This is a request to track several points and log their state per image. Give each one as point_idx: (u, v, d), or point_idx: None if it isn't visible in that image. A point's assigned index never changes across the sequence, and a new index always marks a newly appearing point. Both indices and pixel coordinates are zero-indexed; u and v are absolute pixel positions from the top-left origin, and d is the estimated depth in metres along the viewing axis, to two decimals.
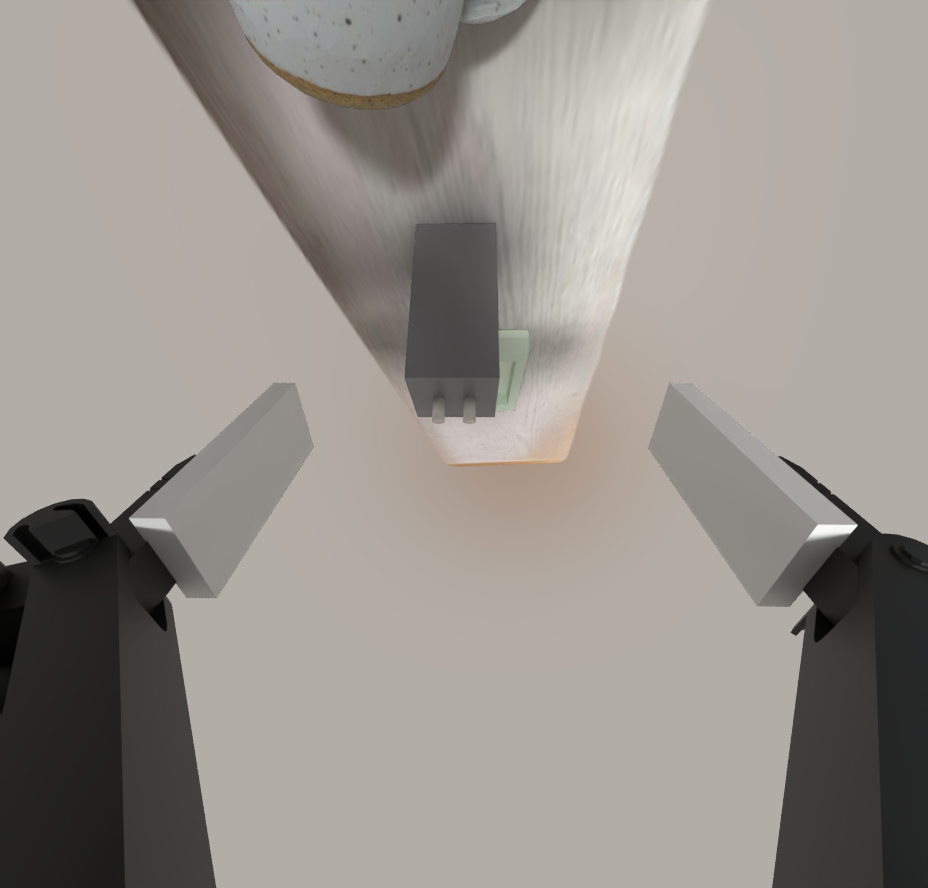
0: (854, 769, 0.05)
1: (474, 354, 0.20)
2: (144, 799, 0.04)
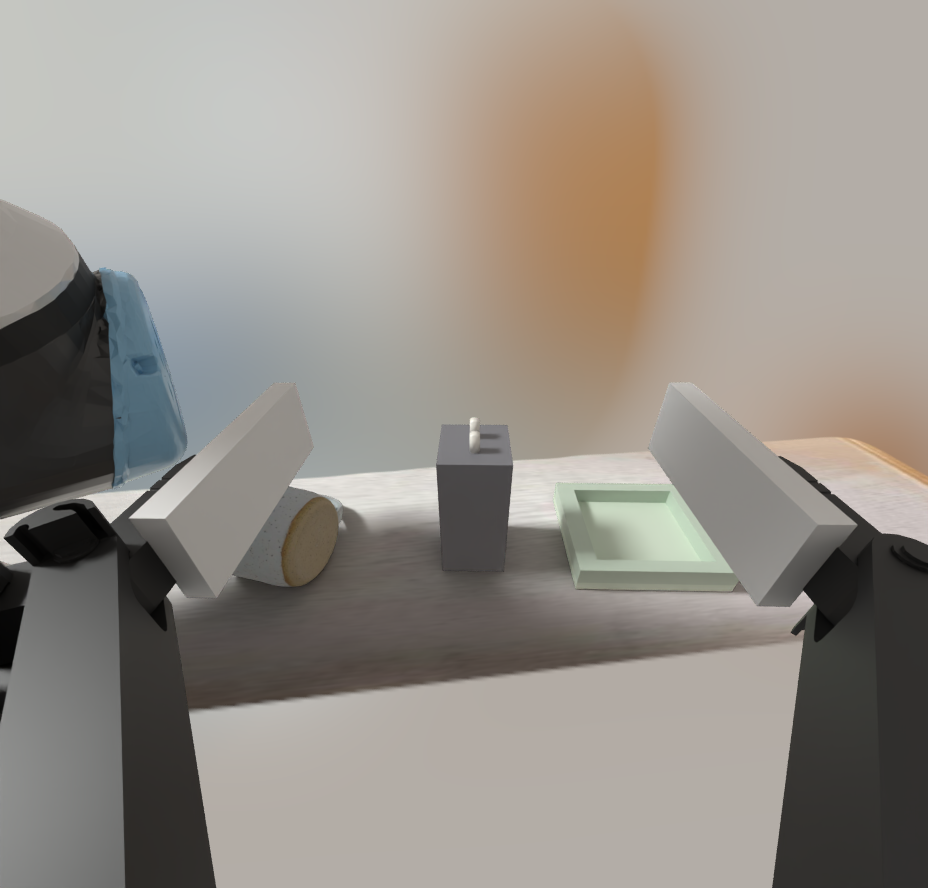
0: (853, 768, 0.05)
1: None
2: (144, 799, 0.04)
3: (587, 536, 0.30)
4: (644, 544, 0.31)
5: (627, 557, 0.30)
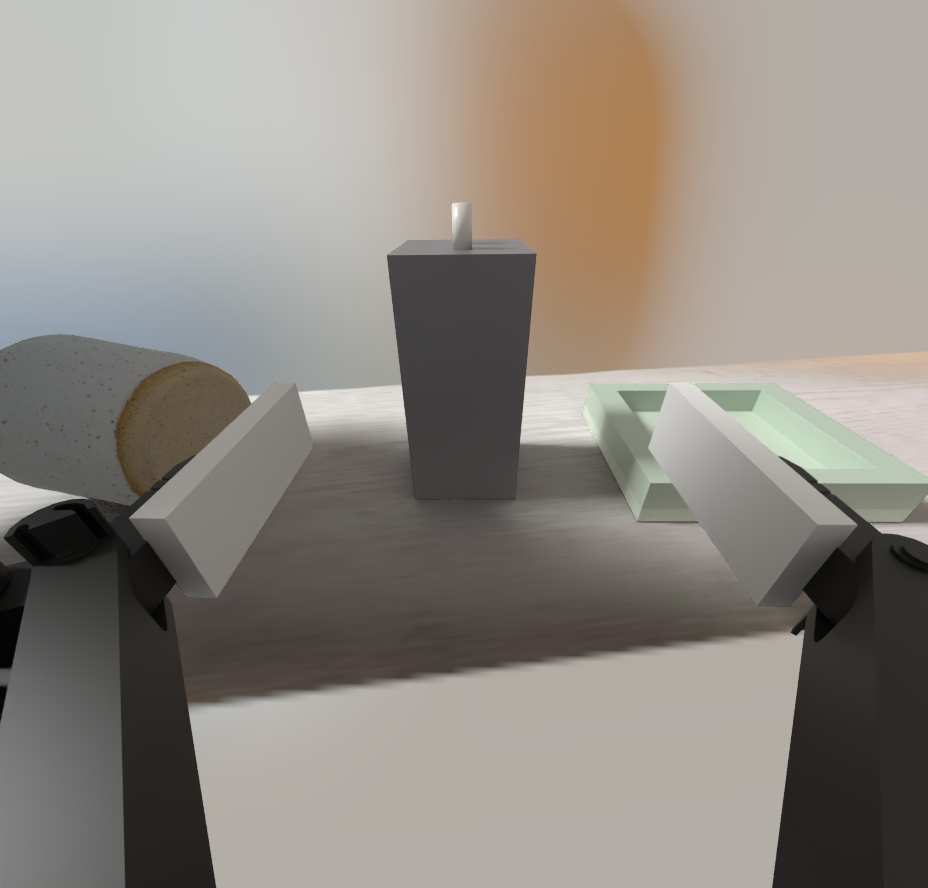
0: (853, 769, 0.05)
1: None
2: (145, 798, 0.04)
3: (650, 440, 0.18)
4: None
5: None
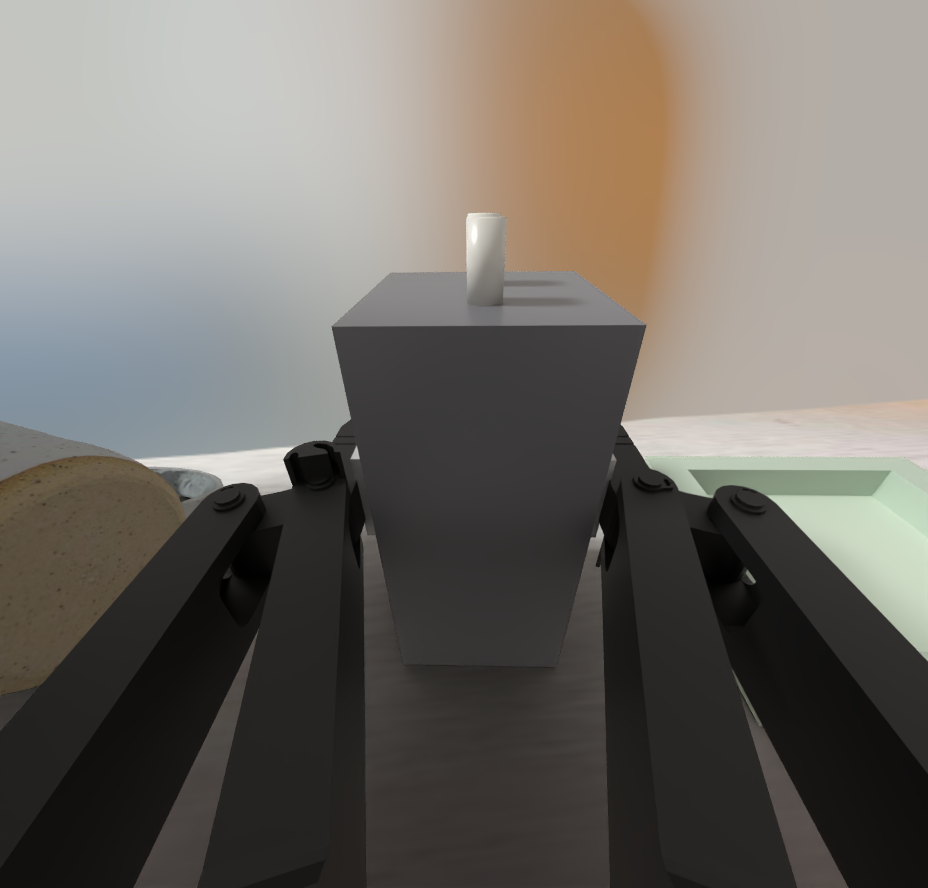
0: (632, 681, 0.05)
1: None
2: (343, 722, 0.05)
3: None
4: (888, 592, 0.13)
5: None
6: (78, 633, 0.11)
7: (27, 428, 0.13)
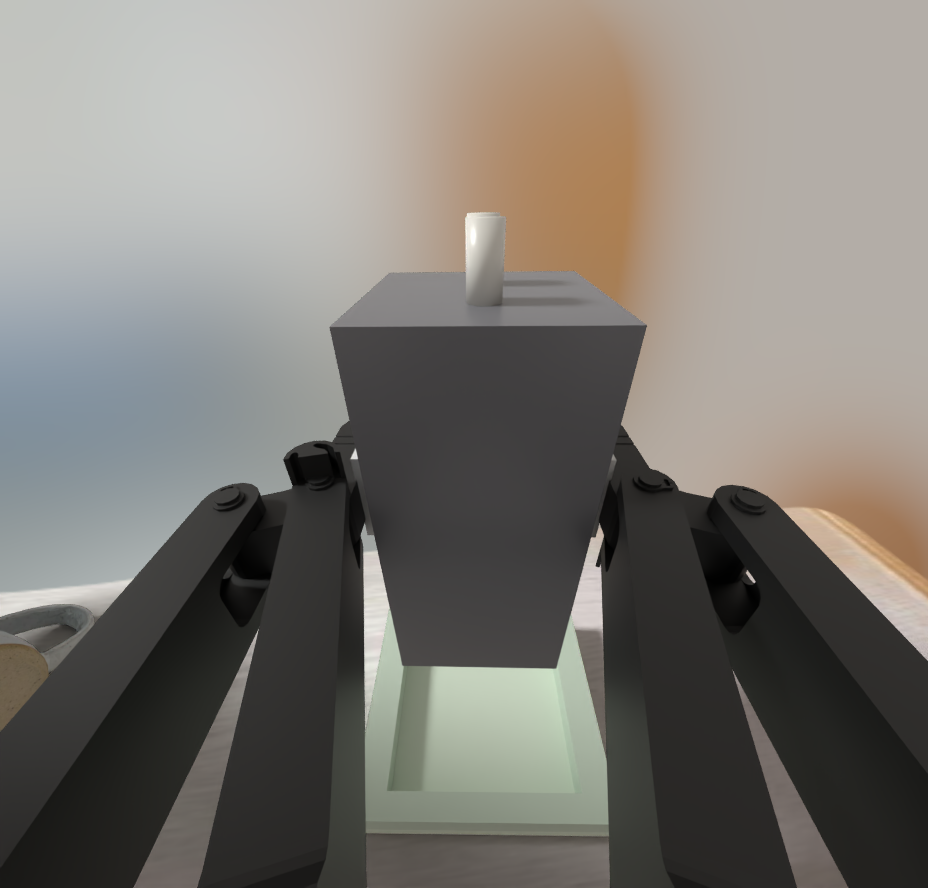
0: (632, 681, 0.05)
1: None
2: (343, 722, 0.05)
3: (391, 730, 0.19)
4: (491, 730, 0.20)
5: (456, 762, 0.19)
6: None
7: None
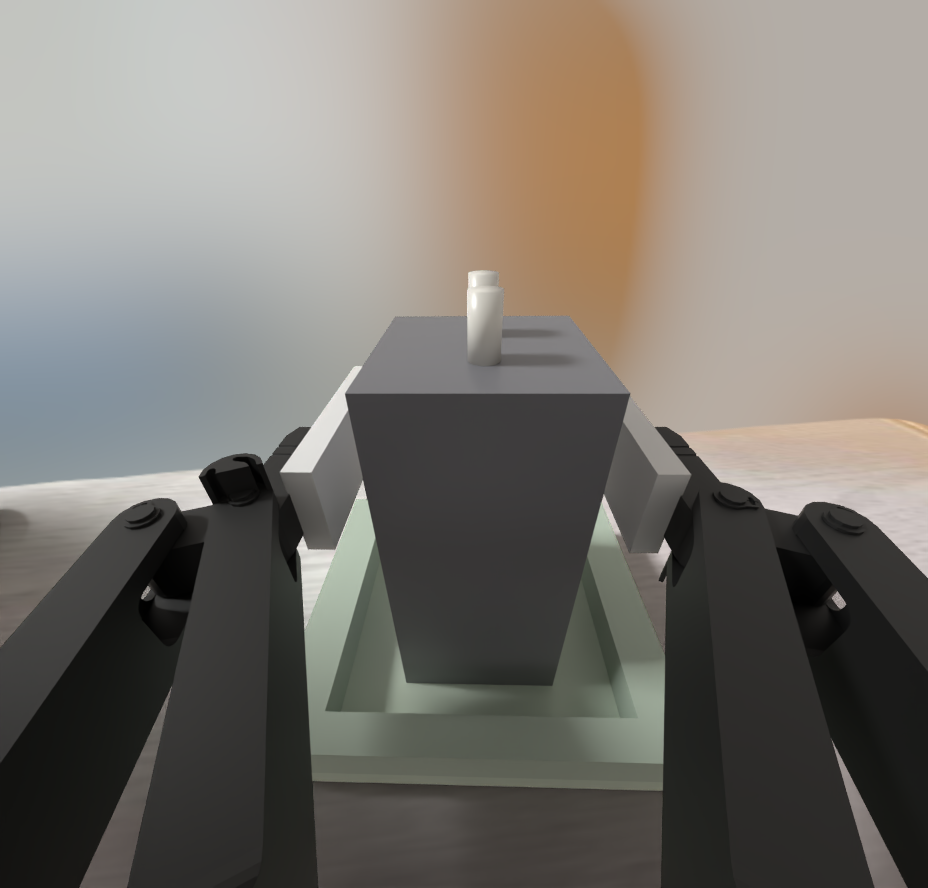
0: (702, 699, 0.05)
1: None
2: (278, 737, 0.05)
3: (343, 633, 0.13)
4: None
5: None
6: None
7: None
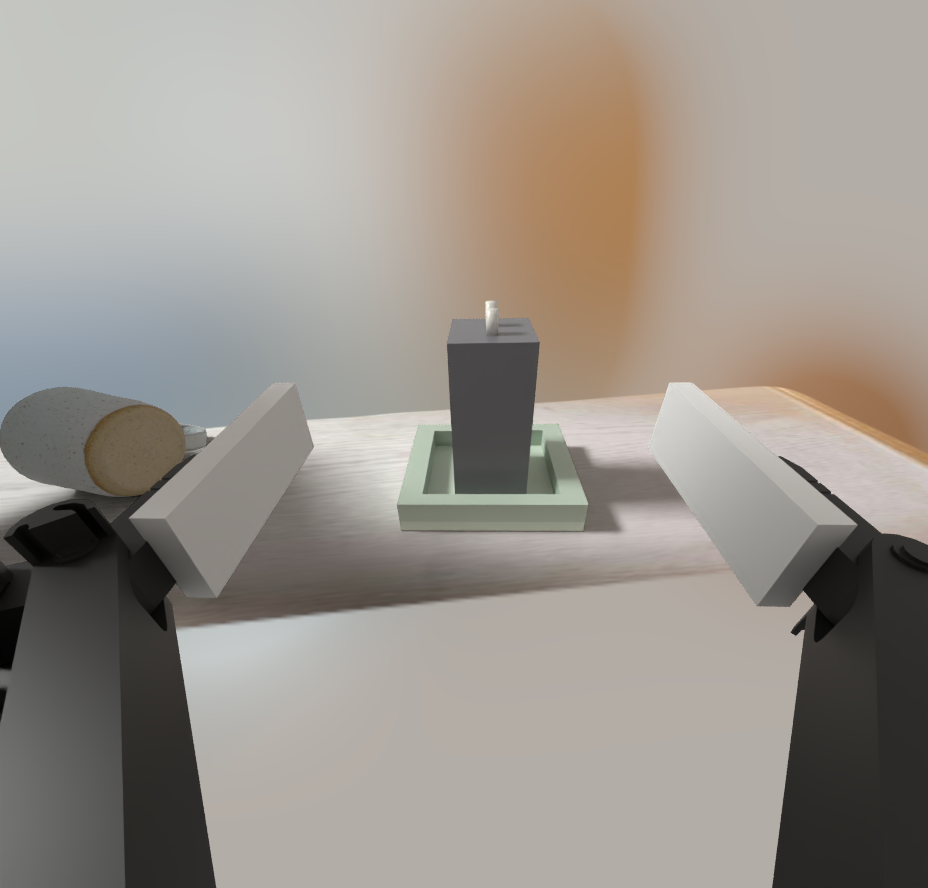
0: (853, 767, 0.05)
1: None
2: (144, 799, 0.04)
3: (424, 472, 0.26)
4: None
5: None
6: (140, 477, 0.27)
7: None
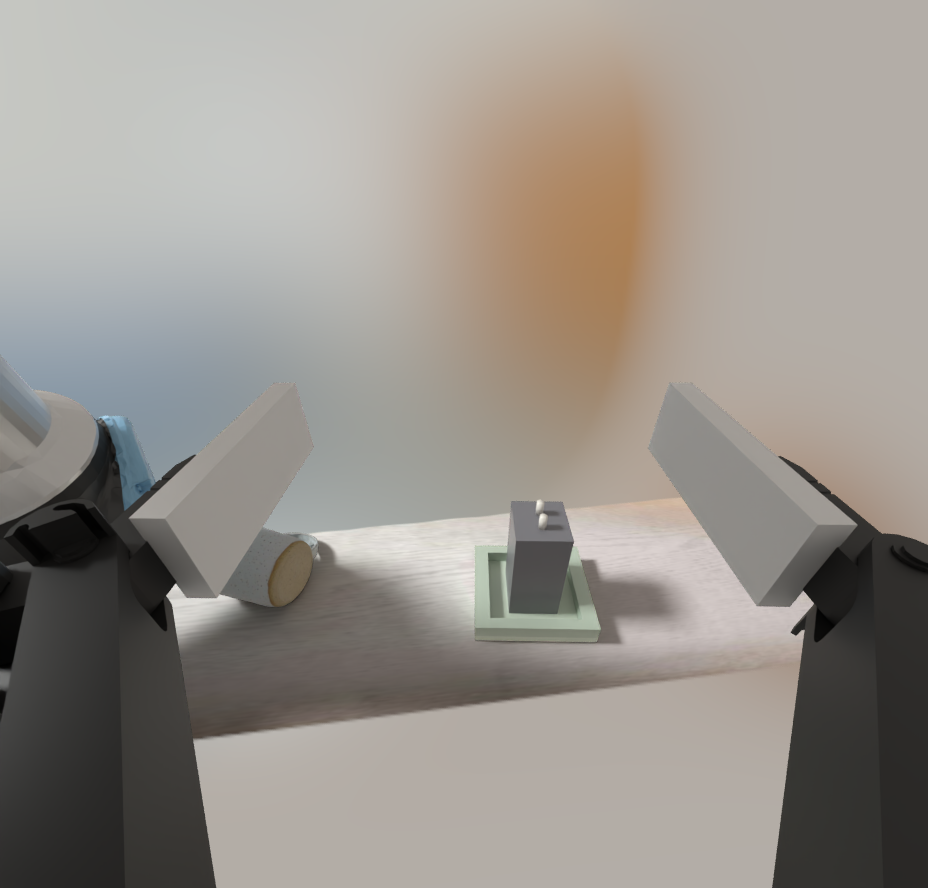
0: (854, 769, 0.05)
1: (511, 521, 0.36)
2: (144, 797, 0.04)
3: (487, 596, 0.38)
4: None
5: (519, 613, 0.38)
6: (292, 592, 0.39)
7: (265, 528, 0.41)
